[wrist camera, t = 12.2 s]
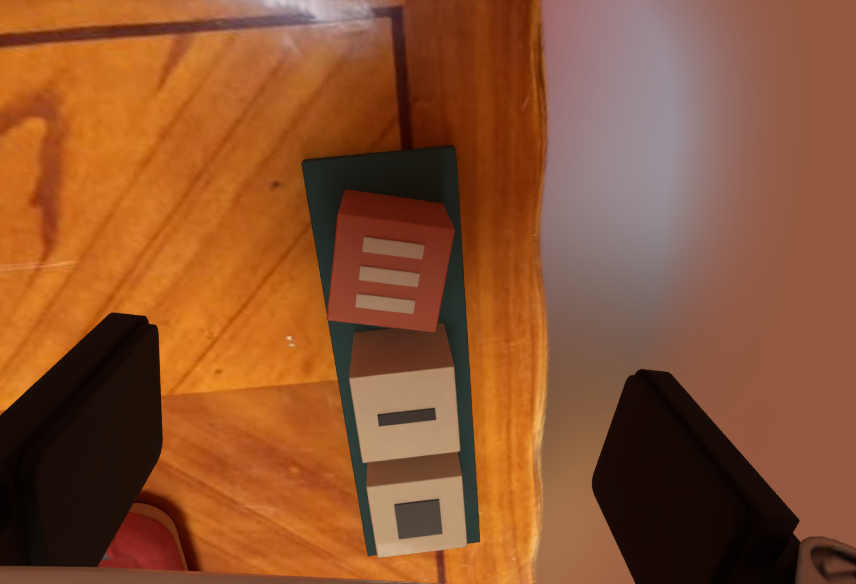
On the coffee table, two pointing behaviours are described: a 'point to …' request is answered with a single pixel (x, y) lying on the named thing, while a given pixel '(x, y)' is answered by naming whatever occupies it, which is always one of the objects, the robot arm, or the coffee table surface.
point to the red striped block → (389, 261)
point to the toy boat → (146, 542)
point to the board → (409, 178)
